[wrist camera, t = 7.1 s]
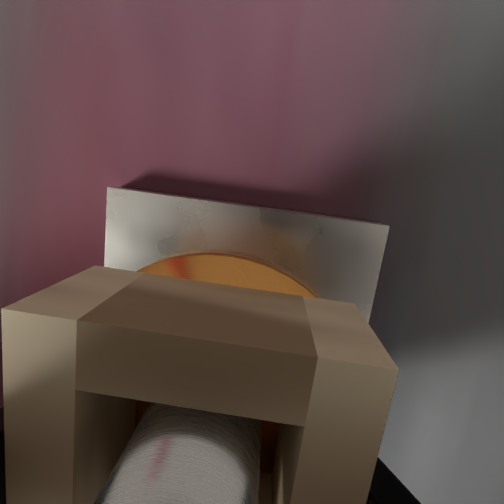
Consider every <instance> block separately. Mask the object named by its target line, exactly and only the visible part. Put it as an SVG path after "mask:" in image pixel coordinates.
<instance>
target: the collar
mask: <svg viewBox="0 0 504 504" xmlns="http://www.w3.org/2000/svg"><path fill="white" fill-rule="evenodd" d="M1 323H2V361H3V400H4V438H5V476H6V504H94V502H95V500H96V498H97V497H98V495H99V493H100V491H101V489H102V488H103V486H104V484H105V482H106V481H107V479H108V477H109V475H110V473H111V472H112V470H113V468H114V466H115V465H116V463H117V461H118V459H119V458H120V456H121V454H122V452H123V450H124V449H125V447H126V445H127V443H128V442H129V440H130V438H131V436H132V435H133V433H134V429H135V414H136V400H141V401H147V402H154V403H160V404H166V405H172V406H178V407H185V408H191V409H197V410H203V411H209V412H216V413H222V414H228V415H234V416H240V417H247V418H253V419H259V420H265V421H271V422H278V423H281V425H280V431H279V436H278V442H277V448H276V454H275V460H274V466H273V471H272V474H270V473H264V472H259V491H258V504H366V502H367V498H368V494H369V490H370V486H371V482H372V478H373V474H374V470H375V466H376V462H377V458H378V454H379V449H380V445H381V441H382V437H383V433H384V429H385V425H386V421H387V417H388V413H389V409H390V405H391V401H392V397H393V393H394V389H395V385H396V381H397V377H398V373H399V369H398V367H397V366H396V364H395V363H394V361H393V360H392V358H391V357H390V355H389V354H388V352H387V351H386V349H385V348H384V346H383V345H382V343H381V342H380V340H379V339H378V337H377V336H376V334H375V333H374V331H373V330H372V328H371V327H370V325H369V324H368V322H367V321H366V319H365V318H364V316H363V315H362V313H361V312H360V310H359V309H358V307H357V306H356V304H354V303H347V302H340V301H333V300H326V299H320V298H313V297H306V296H299V295H292V294H286V293H279V292H272V291H265V290H258V289H252V288H245V287H238V286H231V285H224V284H217V283H211V282H204V281H197V280H190V279H183V278H177V277H170V276H163V275H156V274H149V273H143V272H136V271H129V270H122V269H115V268H108V267H102V266H93V267H91V268H89V269H86V270H84V271H82V272H80V273H78V274H75V275H73V276H71V277H69V278H67V279H65V280H62V281H60V282H58V283H56V284H54V285H52V286H49V287H47V288H45V289H43V290H41V291H39V292H36V293H34V294H32V295H30V296H28V297H26V298H23V299H21V300H19V301H17V302H15V303H12V304H10V305H8V306H6V307H4V308H2V309H1Z"/></svg>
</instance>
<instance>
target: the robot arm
mask: <svg viewBox="0 0 504 504" xmlns="http://www.w3.org/2000/svg"><path fill="white" fill-rule="evenodd" d="M0 504H6V476H5V438H4V407H2V408H0ZM366 504H421V503H420V502H419V501H418V500H417V499H416V498H415V497H414V496H413V494H412V493H411V492H410V491H409V490H408V489H407V488H406V487H405V486H404V485H403V484H402V483H401V482H400V480H399V479H398V478H397V477H396V476H395V475H394V474H393V473H392V472H391V471H390V470H389V469H388V467H387V466H386V465H385V464H384V463H383V462H382V461H381V460H380V459H379V458H377V462H376V466H375V470H374V474H373V478H372V482H371V486H370V490H369V494H368V498H367V502H366Z"/></svg>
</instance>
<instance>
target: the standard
mask: <svg viewBox="0 0 504 504" xmlns="http://www.w3.org/2000/svg"><path fill="white" fill-rule="evenodd" d="M389 227H390V226H388V225H386V224H383V223H380V222H372V221H365V220H358V219H350V218H343V217H336V216H329V215H321V214H314V213H307V212H300V211H292V210H285V209H278V208H270V207H263V206H256V205H249V204H241V203H234V202H227V201H220V200H212V199H205V198H198V197H190V196H183V195H176V194H169V193H161V192H154V191H147V190H140V189H132V188H125V187H107V210H106V234H105V259H104V267H108V268H115V269H122V270H129V271H136V272H143V273H149V274H156V275H163V276H170V277H177V278H183V279H190V280H197V281H204V282H211V283H217V284H224V285H231V286H238V287H245V288H252V289H258V290H265V291H272V292H279V293H286V294H292V295H299V296H306V297H313V298H320V299H326V300H333V301H340V302H347V303H354V304H356V306H357V307H358V309H359V310H360V312H361V313H362V315H363V316H364V318H365V319H366V321H367V322H368V323H369V319H370V314H371V310H372V305H373V300H374V296H375V291H376V287H377V282H378V278H379V273H380V268H381V264H382V259H383V255H384V250H385V246H386V241H387V236H388V232H389ZM280 425H281V423H278V422H271V421H265V420H259V419H253V418H247V417H240V416H234V415H228V414H222V413H216V412H209V411H203V410H197V409H191V408H185V407H178V406H172V405H166V404H160V403H154V402H147V401H141V400H136V414H135V429H134V433H133V435H132V436H131V438H130V440H129V442H128V443H127V445H126V447H125V449H124V450H123V452H122V454H121V456H120V458H119V459H118V461H117V463H116V465H115V466H114V468H113V470H112V472H111V473H110V475H109V477H108V479H107V481H106V482H105V484H104V486H103V488H102V489H101V491H100V493H99V495H98V497H97V498H96V500H95V502H94V504H258V491H259V472H264V473H270V474H272V471H273V466H274V460H275V454H276V448H277V442H278V436H279V431H280Z"/></svg>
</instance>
